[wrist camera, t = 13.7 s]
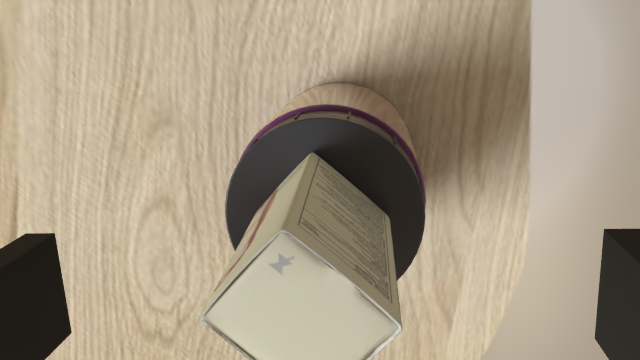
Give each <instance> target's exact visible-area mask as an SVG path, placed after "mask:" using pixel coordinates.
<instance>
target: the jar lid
mask: <svg viewBox="0 0 640 360" xmlns="http://www.w3.org/2000/svg"><path fill="white" fill-rule="evenodd" d="M250 146H251V147H250V148H249V150H248V151H247V152H246V153H245V155H244V156H243V157H242V158H241V160H240V162H239V163H238V165H237V167H236V168H235V170H234V173H233V175H232V177H231V180H230V183H229V187H228V190H227V196H226V203H225V217H226V224H227V230H228V234H229V237H230V241H231V243H232V246H233V248H234V250H235V251H236V249H237V247H238V245H239V244H240V242H241V240H242V238H243V236H244V234H245V232H246V230H247V228H248V227H249V225H250V223H251V221H252V219H253V217H254V215H255V214H256V212H257V211H258V209H259V208H260V207H261V206H262V205H263V203H264V202H265V201H266V200H267V199H268V198H269V196H270V195H271V194H272V193H273V192H274V191H275V189H276V188H277V187H278V186H279V185H280V184H281V183H282V182H283V181H284V180H285V179H286V178H287V177H288V175H289V174H290V173H291V172H292V171H293V170H294V169H295V168H296V167H297V166H298V165H299V164H300V163H301V162H302V161H303V160H304V159H305V158H306V157H307V156H308V155H309V154H310V153H315V154H316V155H318V156H319V157H320V158H321V159H323V160H324V161H325V162H326V163H328V164H329V165H330V166H331V167H332V168H334V169H335V170H336V171H337V172H338V173H340V174H341V175H342V176H343V177H345V178H346V179H347V180H348V181H349V182H350V183H352V184H353V185H354V186H355V187H356V188H357V189H359V190H360V191H361V192H362V193H363V194H364V195H365V196H367V197H368V198H369V199H370V200H371V201H372V202H373V203H374V204H375V205H377V206H378V207H379V208H380V209H381V210H382V211H383V212H384V213H386V214H387V215H388V217H389V218H390V224H391V234H392V244H393V253H394V262H395V269H396V279H397V280H398V279H399V278H400V277H401V276H402V275H403V274H404V273H405V271H406V270H407V269H408V267H409V266H410V264H411V263H412V261H413V259H414V257H415V256H416V254H417V251H418V249H419V246H420V243H421V241H422V236H423V232H424V224H425V205H424V199H423V194H422V190H421V189H422V188H423V187H422V183H421V180H420V178H418V176H417V173H416V170H415V167H414V165H413V163H412V161H411V160H410V158H409V156H408V154H407V153H406V151H405V150H404V149H403V147H402V146H401V145H400V144H399V143H398V141H397V140H396V137H395V136H392V135H391V134H389V133H388V132H387V131H386V130H385V129H383V128H382V127H380V126H379V125H377V124H375V123H374V122H372V121H370V120H368V119H365V118H363V117H361V116H358V115H355V114H351V112H350V111H349V113H347V112H342V111H333V110H320V111H311V112H306V113H302V114H301V113H300V112H299V113H298V114H297V115H295V116H293V117H290V118H287V119H286V120H284V121H282V122H280V123H278V124H276V125H275V126H274V127H272V128H271V129H269V130H268V131H267V132H266V133H265V134H264V135H262V136H261V137H260V138H257V139H256V140H255V141H254V142H253V143H252V144H251V145H250Z"/></svg>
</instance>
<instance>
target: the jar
mask: <svg viewBox="0 0 640 360" xmlns="http://www.w3.org/2000/svg"><path fill="white" fill-rule="evenodd" d="M320 110H333V111H342V112H347V113H349V111H350V112H351V114H355V115H358V116H361V117H363V118H365V119H368V120H370V121H372V122H374V123H375V124H377V125H379V126H380V127H382V128H383V129H385V130H386V131H387V132H388V133H389V134H391V135H392V136H395V137H396V140H397V141H398V143H399V144H400V145H401V146H402V147H403V149H404V150H405V151H406V153H407V154H408V156H409V158H410V160H411V161H412V163H413V165H414V167H415V170H416V173H417V176H418V178H420V180H421V183H422V187H423V188H422V189H421V190H422V194H423V199H424V205H425V204H426V195H425V185H424V180H423V175H422V172H421V169H420V166H419V163H418V159H417V156H416V153H415V150H414V147H413V144H412V141H411V138H410V135H409V132H408V129H407V126H406V124H405V122H404V120H403V118H402V117H401V115H400V114H399V112H398V111H397V110H396V109H395V108H394V106H393V105H392V104H391V103H390V102H388V101H387V100H386V99H385V98H384V97H382V96H381V95H379V94H378V93H376V92H374V91H372V90H370V89H368V88H366V87H362V86H359V85H355V84H350V83H329V84H324V85H320V86H317V87H314V88H311V89H309V90H307V91H305V92H303V93H301V94H300V95H298V96H297V97H296V98H294V99H293V100H292V101H291V102H290V103H289V104H288V105H287V106H286V107H285V108H284V109H282V110H281V111H280V112H279V113H278V114H277V115H276V116H275V117H274V118H273V119H272V120H271V121H270V122H269V123H268V124H267V125H266V126H265V127H264V128H263V129H261V130H260V131H259V132H258V133H257V134H256V135H255V137H254V138H253V139H252V140H251V142H250V143H249V144H248V146H247V147H246V149H245V151H244V152H243V154H242V156H241V158H242V157H243V156H244V155H245V153H246V152H247V151H248V150H249V148H250V147H251V146H250V145H251V144H252V143H253V142H254V141H255V140H256V139H257V138H260V137H261V136H262V135H264V134H265V133H266V132H267V131H268V130H269V129H271V128H272V127H274V126H275V125H276V124H278V123H280V122H282V121H284V120H286V119H287V118H290V117H293V116H295V115H297V114H298V113H299V112H300V113H301V114H302V113H306V112H311V111H320ZM240 160H241V159H240ZM239 162H240V161H239Z"/></svg>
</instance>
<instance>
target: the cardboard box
mask: <svg viewBox="0 0 640 360" xmlns="http://www.w3.org/2000/svg"><path fill="white" fill-rule="evenodd" d="M201 319H202V321H203V322H204V323H205V324H206V325H207V326H209V327H210V328H211V329H212V330H213V331H214V332H216V333H217V334H218V335H220V336H221V337H222V338H223V339H224V340H225V341H227V342H228V343H229V344H230V345H231V346H232V347H234V348H235V349H236V350H237V351H239V352H240V353H241V354H242V355H244V356H245V357H246V358H247V359H249V360H371V359H372V358H373V357H374V356H375V355H376V354H377V353H379V352H380V351H381V350H382V349H383V348H384V347H385V346H386V345H387V344H388V343H389V342H390V341H391V340H392V339H394V338H395V337H396V336H397V335H398V334H399V333H400V332H401V330H402V323H401V315H400V304H399V297H398V288H397V279H396V269H395V262H394V253H393V244H392V234H391V224H390V218H389V217H388V215H387V214H386V213H384V212H383V211H382V210H381V209H380V208H379V207H378V206H377V205H375V204H374V203H373V202H372V201H371V200H370V199H369V198H368V197H367V196H365V195H364V194H363V193H362V192H361V191H360V190H359V189H357V188H356V187H355V186H354V185H353V184H352V183H350V182H349V181H348V180H347V179H346V178H345V177H343V176H342V175H341V174H340V173H338V172H337V171H336V170H335V169H334V168H332V167H331V166H330V165H329V164H328V163H326V162H325V161H324V160H323V159H321V158H320V157H319V156H318V155H316V154H315V153H310V154H309V155H308V156H307V157H306V158H305V159H304V160H303V161H302V162H301V163H300V164H299V165H298V166H297V167H296V168H295V169H294V170H293V171H292V172H291V173H290V174H289V175H288V177H287V178H286V179H285V180H284V181H283V182H282V183H281V184H280V185H279V186H278V187H277V188H276V189H275V191H274V192H273V193H272V194H271V195H270V196H269V198H268V199H267V200H266V201H265V202H264V203H263V205H262V206H261V207H260V208H259V209H258V211H257V212H256V214H255V215H254V217H253V219H252V221H251V223H250V225H249V227H248V228H247V230H246V232H245V234H244V236H243V238H242V240H241V242H240V244H239V245H238V247H237V249H236V251H235V253H234V255H233V257H232V259H231V260H230V262H229V264H228V266H227V268H226V270H225V272H224V274H223V275H222V277H221V279H220V281H219V283H218V285H217V287H216V289H215V291H214V293H213V294H212V296H211V298H210V300H209V302H208V304H207V306H206V308H205V310H204V311H203V313H202V316H201Z"/></svg>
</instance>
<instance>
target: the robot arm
mask: <svg viewBox="0 0 640 360" xmlns="http://www.w3.org/2000/svg"><path fill="white" fill-rule="evenodd" d="M597 307H598V308H597V319H596V330H595V339H596V341H597V342H598V344H599V345H600V347H601V348H602V350H603V351H604V353H605V354H606V356H607V357H608V358H609V360H640V229H604V236H603V248H602V259H601V271H600V283H599V294H598V306H597ZM71 333H72V332H71V327H70V321H69V315H68V309H67V303H66V297H65V291H64V285H63V279H62V274H61V268H60V262H59V256H58V250H57V244H56V238H55V233H46V234H24V235H23V236H21V237H19V238H18V239H16V240H14V241H13V242H11V243H10V244H8V245H6V246H5V247H3V248H1V249H0V360H45V359H46V358H47V357H48V356H49V355H50V354H51V353H52V352H53V351H54V350H55V349H56V348H57V347H58V346H59V345H60V344H61V343H62V342H63V341H64V340H65V339H66V338H67V337H68V336H69V335H70V334H71Z"/></svg>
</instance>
